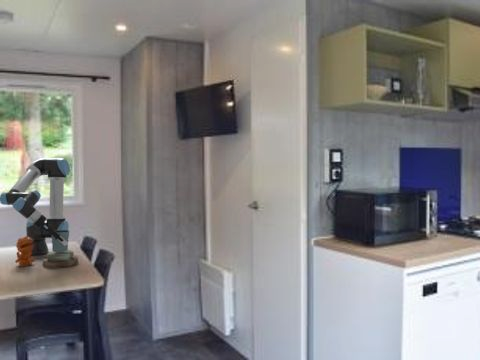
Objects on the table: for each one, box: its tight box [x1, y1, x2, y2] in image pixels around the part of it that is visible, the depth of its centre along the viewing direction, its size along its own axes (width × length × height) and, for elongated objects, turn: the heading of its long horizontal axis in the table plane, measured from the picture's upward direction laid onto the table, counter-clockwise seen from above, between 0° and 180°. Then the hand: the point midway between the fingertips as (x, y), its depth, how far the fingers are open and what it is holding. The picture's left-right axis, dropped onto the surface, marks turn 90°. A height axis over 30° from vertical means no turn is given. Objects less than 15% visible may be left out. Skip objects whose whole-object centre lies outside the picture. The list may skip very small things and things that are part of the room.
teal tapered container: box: [51, 229, 70, 252], centre depth 274 cm, size 10×10×12 cm
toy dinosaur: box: [14, 235, 35, 267], centre depth 272 cm, size 11×11×18 cm
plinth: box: [42, 249, 79, 269], centre depth 274 cm, size 20×20×7 cm
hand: (65, 242), depth 275 cm, fingers closed on teal tapered container, 9 cm apart
